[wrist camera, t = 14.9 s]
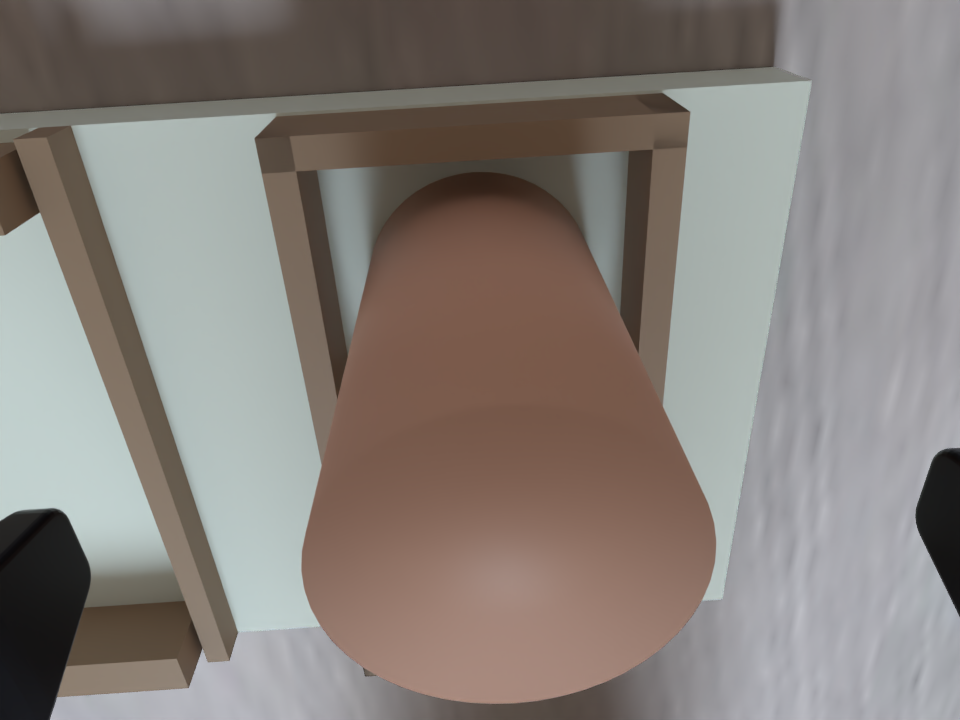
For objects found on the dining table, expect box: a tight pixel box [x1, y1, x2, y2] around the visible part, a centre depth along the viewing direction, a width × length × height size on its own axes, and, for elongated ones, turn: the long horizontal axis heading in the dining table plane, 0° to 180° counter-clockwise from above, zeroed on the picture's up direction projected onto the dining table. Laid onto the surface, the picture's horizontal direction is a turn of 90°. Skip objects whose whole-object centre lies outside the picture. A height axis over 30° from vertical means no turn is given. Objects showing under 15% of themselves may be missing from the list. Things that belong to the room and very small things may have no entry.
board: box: [0, 67, 812, 697], centre depth 14 cm, size 12×24×3 cm, turn 93°
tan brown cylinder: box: [301, 172, 716, 704], centre depth 10 cm, size 4×4×7 cm
